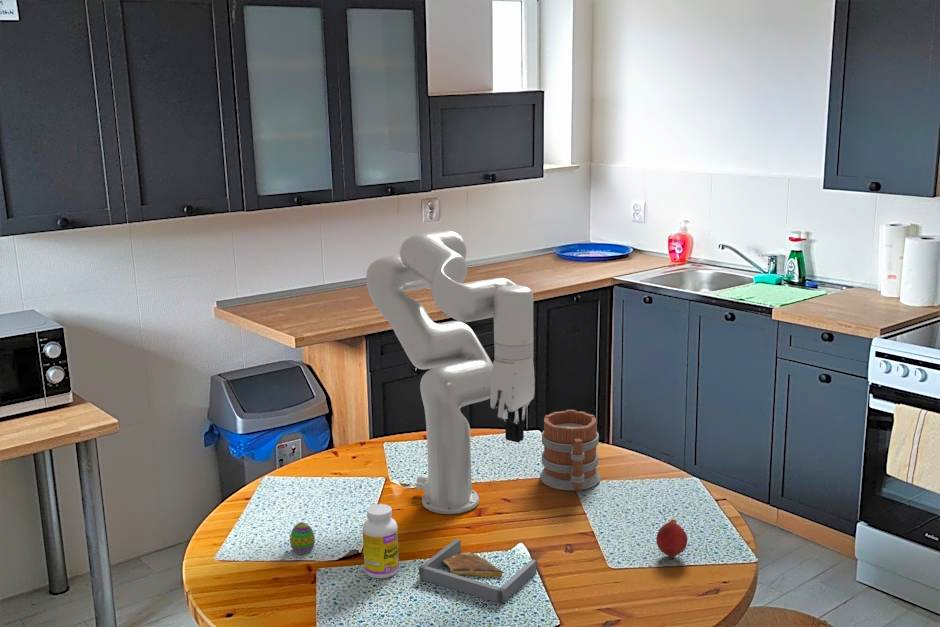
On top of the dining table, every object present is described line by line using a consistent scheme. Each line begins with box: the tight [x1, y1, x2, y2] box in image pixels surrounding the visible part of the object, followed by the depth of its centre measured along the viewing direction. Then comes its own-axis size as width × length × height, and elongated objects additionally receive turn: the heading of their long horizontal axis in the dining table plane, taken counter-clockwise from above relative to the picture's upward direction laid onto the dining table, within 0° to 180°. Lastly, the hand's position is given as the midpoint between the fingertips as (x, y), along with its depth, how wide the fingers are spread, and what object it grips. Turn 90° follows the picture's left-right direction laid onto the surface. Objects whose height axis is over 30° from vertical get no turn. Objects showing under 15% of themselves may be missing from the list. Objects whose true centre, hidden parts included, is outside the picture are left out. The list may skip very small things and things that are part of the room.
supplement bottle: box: [362, 503, 400, 579], centre depth 182 cm, size 7×7×13 cm
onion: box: [655, 518, 688, 559], centre depth 185 cm, size 6×6×8 cm
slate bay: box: [418, 538, 538, 605], centre depth 181 cm, size 18×13×2 cm
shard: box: [443, 551, 505, 577], centre depth 182 cm, size 11×8×2 cm
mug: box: [539, 409, 601, 492], centre depth 219 cm, size 14×19×15 cm
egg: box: [289, 521, 316, 555], centre depth 192 cm, size 5×5×6 cm
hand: (514, 439), depth 188 cm, fingers closed
